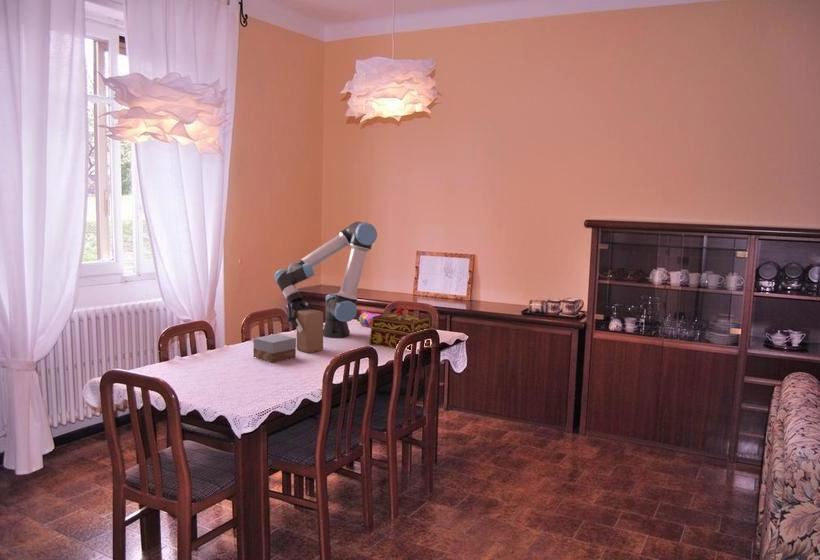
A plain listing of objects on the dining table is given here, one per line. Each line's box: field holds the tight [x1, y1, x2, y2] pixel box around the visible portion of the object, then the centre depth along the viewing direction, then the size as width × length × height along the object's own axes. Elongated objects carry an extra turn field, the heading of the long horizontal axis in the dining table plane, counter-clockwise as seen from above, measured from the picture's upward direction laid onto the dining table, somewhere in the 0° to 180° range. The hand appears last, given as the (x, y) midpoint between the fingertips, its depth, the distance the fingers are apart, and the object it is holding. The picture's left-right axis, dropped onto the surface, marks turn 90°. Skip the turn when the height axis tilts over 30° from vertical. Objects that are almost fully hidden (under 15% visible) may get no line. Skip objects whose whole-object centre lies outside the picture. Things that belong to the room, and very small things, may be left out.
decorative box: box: [368, 312, 432, 350], centre depth 345 cm, size 28×19×15 cm
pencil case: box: [356, 310, 381, 328], centre depth 389 cm, size 22×9×9 cm, turn 46°
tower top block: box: [253, 333, 297, 353], centre depth 313 cm, size 14×14×5 cm
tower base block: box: [253, 348, 297, 364], centre depth 313 cm, size 14×14×5 cm
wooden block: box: [296, 309, 324, 354], centre depth 329 cm, size 10×10×20 cm
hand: (311, 329), depth 327 cm, fingers open, 13 cm apart
